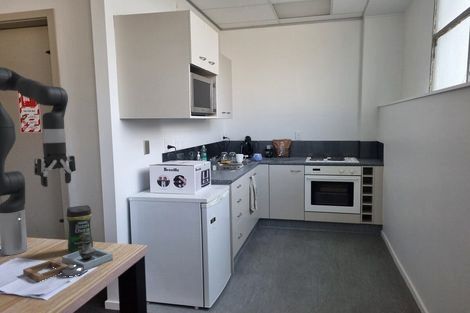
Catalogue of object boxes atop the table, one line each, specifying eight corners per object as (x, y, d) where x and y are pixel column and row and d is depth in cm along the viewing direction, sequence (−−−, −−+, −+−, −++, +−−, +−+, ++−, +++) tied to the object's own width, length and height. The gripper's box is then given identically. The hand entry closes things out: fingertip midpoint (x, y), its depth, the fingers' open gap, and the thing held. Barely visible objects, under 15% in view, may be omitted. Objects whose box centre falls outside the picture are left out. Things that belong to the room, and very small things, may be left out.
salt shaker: (89, 263, 128) (88, 231, 126) (75, 262, 129) (74, 230, 128) (98, 257, 133) (97, 227, 132) (85, 256, 135) (84, 226, 133)
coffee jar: (69, 255, 138) (67, 209, 136) (66, 249, 144) (64, 205, 143) (95, 250, 143) (93, 206, 142) (91, 244, 150) (89, 202, 148)
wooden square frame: (23, 274, 120) (23, 269, 120) (53, 264, 128) (53, 259, 128) (38, 282, 114) (38, 276, 114) (69, 270, 123) (68, 265, 122)
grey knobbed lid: (57, 274, 120) (57, 266, 120) (76, 267, 126) (76, 259, 125) (69, 279, 116) (68, 271, 116) (87, 271, 122) (87, 263, 122)
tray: (62, 262, 130) (62, 256, 130) (91, 252, 140) (90, 246, 140) (84, 271, 122) (83, 264, 122) (112, 260, 132) (112, 253, 132)
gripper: (67, 140, 134) (69, 181, 136) (28, 141, 123) (31, 186, 124) (78, 140, 130) (80, 183, 132) (39, 142, 119) (42, 188, 120)
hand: (56, 184), depth 128 cm, fingers open, 8 cm apart
